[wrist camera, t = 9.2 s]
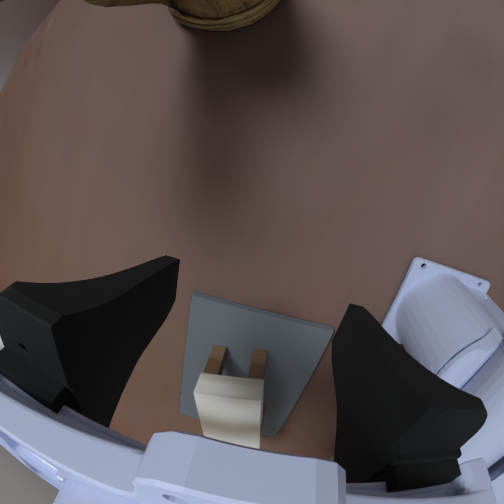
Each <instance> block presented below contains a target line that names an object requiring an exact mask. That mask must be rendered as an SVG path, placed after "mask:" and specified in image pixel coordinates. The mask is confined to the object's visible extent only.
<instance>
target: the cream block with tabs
mask: <svg viewBox="0 0 504 504" xmlns="http://www.w3.org/2000/svg"><path fill="white" fill-rule="evenodd" d="M226 359H227V346H218V345H213V347H212V350H211V353H210V355H209V358H208V361H207V363H206V366H205V369H204V371H203V373H201V374H200V376H199V379H198V382H197V384H196V387H195V390H194V392H193V393H194V397H195V402H196V406H197V410H198V414H199V418H200V422H201V426H202V430H203V434H204V436H206V437H210V438H214V439H217V440H221V441H225V442H230V443H234V444H238V445H243V446H248V447H252V448H258V449H261V442H262V427H263V420H264V413H265V406H263V393H264V376H265V369H266V362H267V350H262V349H253V354H252V359H251V364H250V368H249V373H248V378H240V377H231V376H222V372H223V369H224V365H225V362H226Z"/></svg>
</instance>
